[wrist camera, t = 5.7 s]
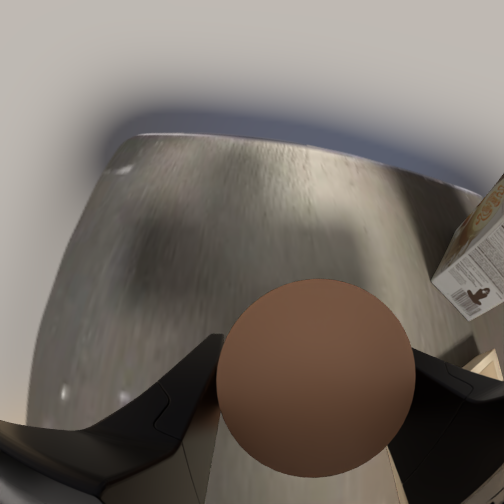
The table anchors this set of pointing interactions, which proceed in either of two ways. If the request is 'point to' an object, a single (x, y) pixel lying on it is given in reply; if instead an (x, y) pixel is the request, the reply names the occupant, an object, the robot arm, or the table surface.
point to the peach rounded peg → (315, 378)
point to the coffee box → (476, 259)
